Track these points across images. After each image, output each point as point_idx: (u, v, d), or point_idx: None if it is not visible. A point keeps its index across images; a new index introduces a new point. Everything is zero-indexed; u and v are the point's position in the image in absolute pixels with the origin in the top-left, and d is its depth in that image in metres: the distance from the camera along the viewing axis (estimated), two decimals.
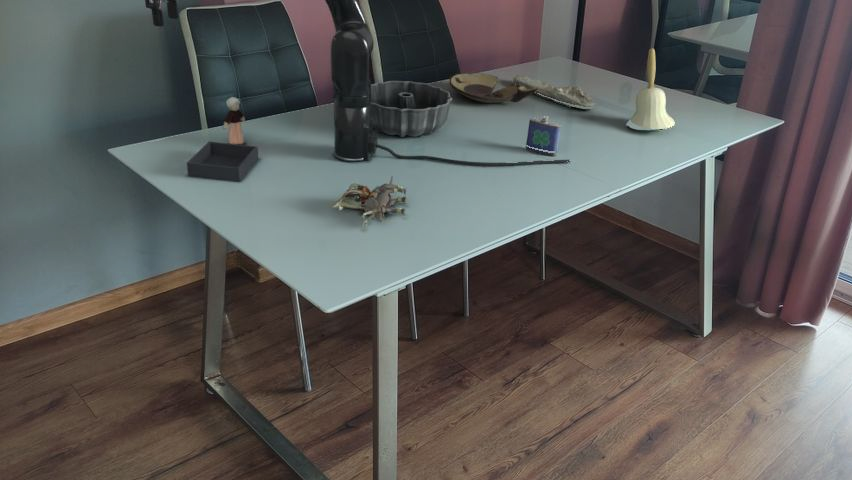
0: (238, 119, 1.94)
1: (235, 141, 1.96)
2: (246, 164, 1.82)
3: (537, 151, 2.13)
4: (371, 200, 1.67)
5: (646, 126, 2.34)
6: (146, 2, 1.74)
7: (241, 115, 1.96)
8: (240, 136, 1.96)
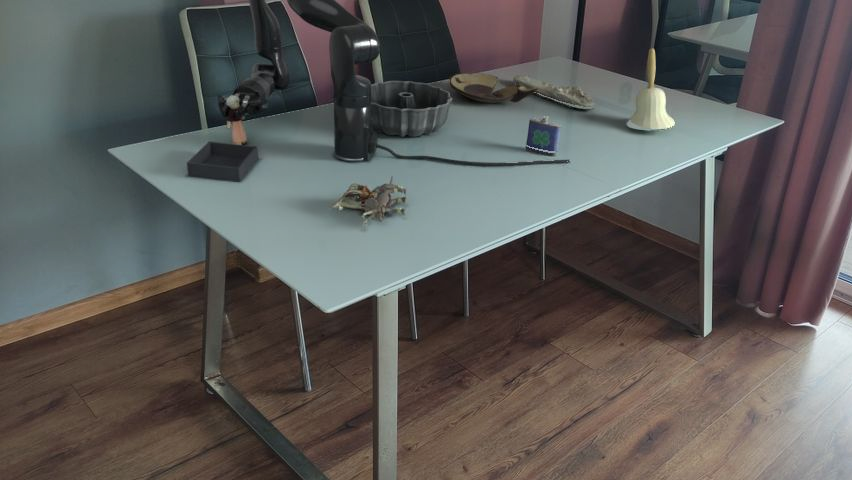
0: None
1: (239, 140, 1.95)
2: (246, 164, 1.82)
3: (537, 151, 2.13)
4: (371, 200, 1.67)
5: (646, 126, 2.34)
6: (220, 109, 1.95)
7: None
8: (243, 134, 1.95)
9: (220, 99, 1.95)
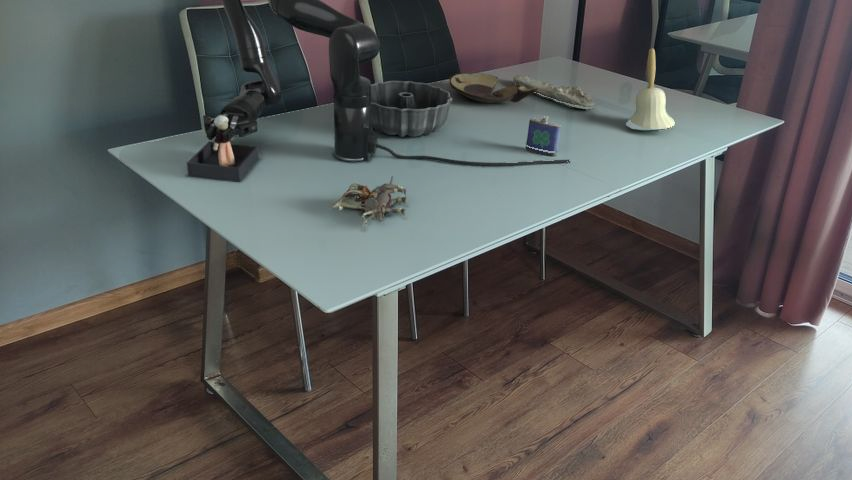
0: None
1: (226, 163, 1.83)
2: (246, 164, 1.82)
3: (537, 151, 2.13)
4: (371, 200, 1.67)
5: (646, 126, 2.34)
6: (205, 130, 1.83)
7: None
8: (231, 156, 1.83)
9: (206, 120, 1.83)
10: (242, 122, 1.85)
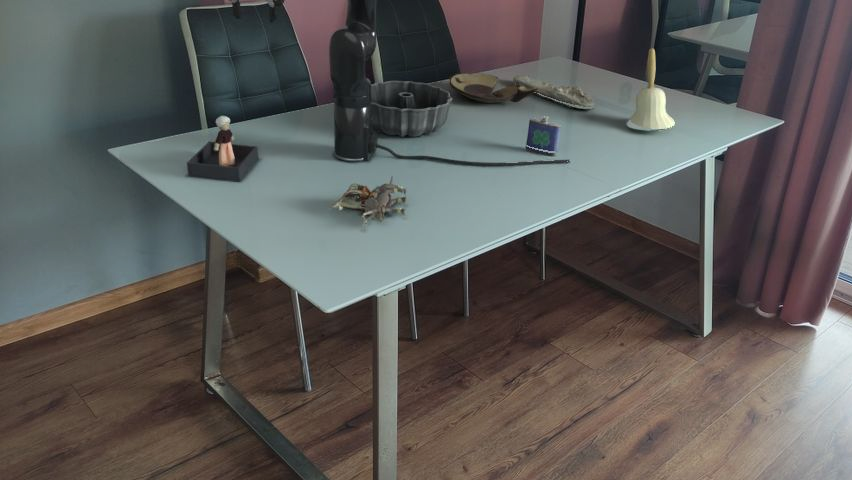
0: (229, 139, 1.81)
1: (226, 163, 1.83)
2: (246, 164, 1.82)
3: (537, 151, 2.13)
4: (371, 200, 1.67)
5: (646, 126, 2.34)
6: None
7: (231, 134, 1.83)
8: (231, 157, 1.83)
9: None
10: None
